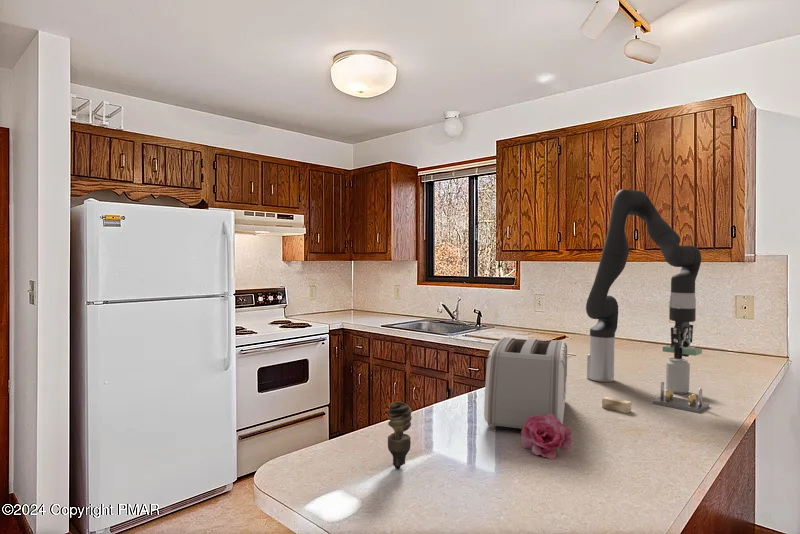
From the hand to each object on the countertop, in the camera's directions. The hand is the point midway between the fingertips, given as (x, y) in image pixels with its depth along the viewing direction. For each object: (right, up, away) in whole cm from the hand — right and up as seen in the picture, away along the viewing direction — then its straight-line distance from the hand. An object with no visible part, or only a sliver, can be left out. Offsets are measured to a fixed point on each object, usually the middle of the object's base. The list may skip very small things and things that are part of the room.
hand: (681, 357), depth 171 cm
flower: (-56, -16, -42) cm, 73 cm away
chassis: (0, -16, 0) cm, 16 cm away
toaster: (-53, -16, -10) cm, 56 cm away
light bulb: (-93, -16, -53) cm, 108 cm away
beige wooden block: (-24, -16, -5) cm, 29 cm away
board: (0, +2, 0) cm, 2 cm away
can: (+8, -16, +18) cm, 25 cm away
